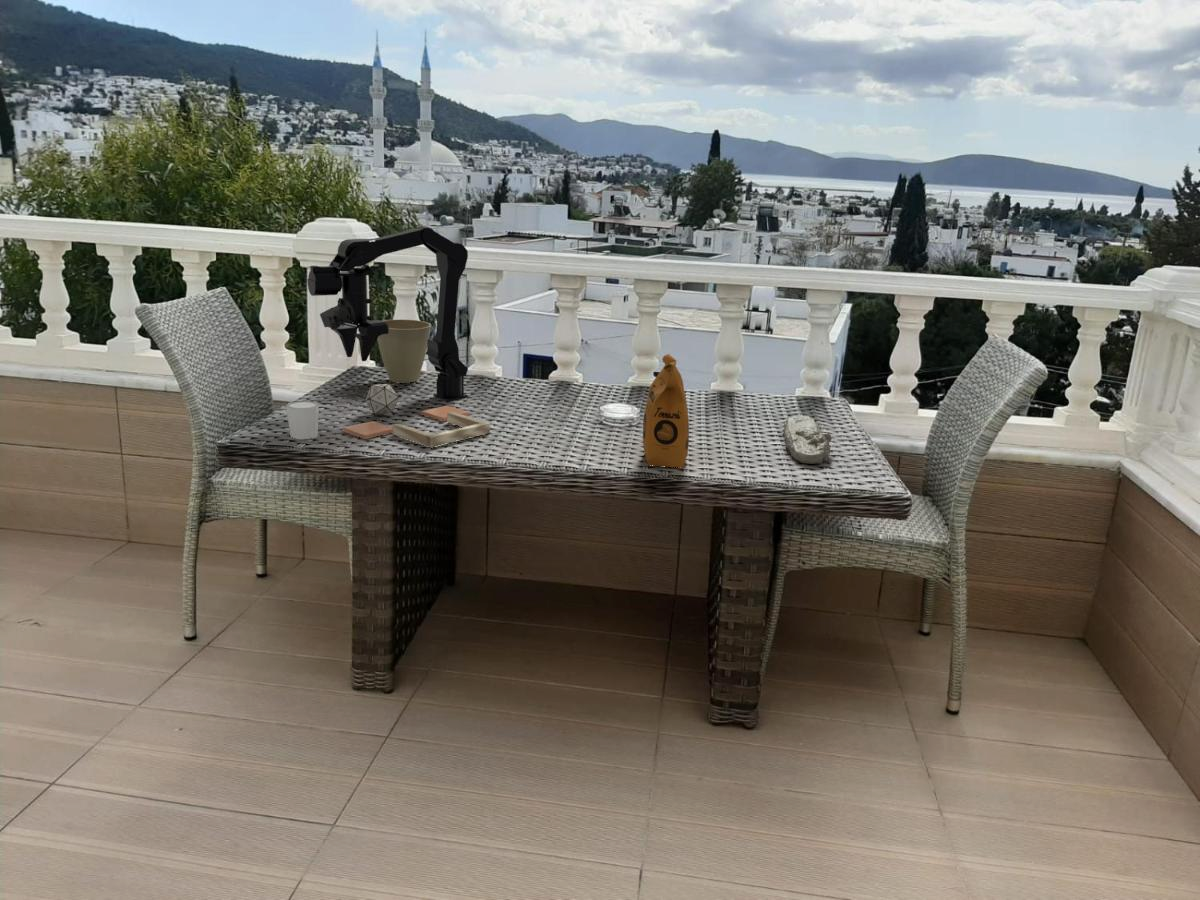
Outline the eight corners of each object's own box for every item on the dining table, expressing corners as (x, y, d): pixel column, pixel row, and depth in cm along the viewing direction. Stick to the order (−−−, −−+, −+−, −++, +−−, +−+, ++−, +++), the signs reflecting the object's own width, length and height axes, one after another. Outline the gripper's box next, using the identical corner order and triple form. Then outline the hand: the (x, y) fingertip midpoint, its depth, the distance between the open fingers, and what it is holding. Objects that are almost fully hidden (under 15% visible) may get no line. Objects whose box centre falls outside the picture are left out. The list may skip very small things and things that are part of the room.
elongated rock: (818, 431, 225) (778, 430, 226) (819, 411, 224) (779, 410, 225) (836, 467, 191) (788, 466, 192) (837, 443, 190) (789, 442, 191)
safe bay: (452, 422, 212) (452, 411, 211) (489, 433, 204) (490, 423, 203) (393, 435, 199) (393, 424, 199) (431, 448, 191) (431, 437, 191)
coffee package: (639, 467, 186) (645, 363, 179) (641, 450, 198) (648, 351, 191) (687, 471, 185) (695, 366, 178) (687, 453, 197) (694, 354, 190)
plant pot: (367, 384, 243) (365, 326, 239) (389, 373, 257) (387, 317, 253) (420, 389, 241) (419, 330, 236) (438, 377, 255) (438, 321, 250)
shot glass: (327, 433, 198) (325, 403, 196) (307, 441, 192) (305, 410, 190) (300, 429, 200) (299, 399, 198) (280, 437, 194) (278, 406, 192)
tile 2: (446, 409, 222) (446, 405, 222) (468, 416, 217) (468, 412, 217) (421, 414, 216) (421, 411, 216) (443, 421, 212) (443, 417, 211)
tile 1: (373, 425, 206) (373, 421, 206) (394, 432, 201) (394, 428, 201) (343, 431, 200) (343, 427, 200) (365, 439, 195) (364, 435, 195)
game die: (388, 431, 215) (394, 405, 207) (354, 417, 214) (360, 391, 207) (402, 406, 221) (409, 380, 213) (369, 392, 220) (375, 365, 213)
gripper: (302, 291, 212) (305, 356, 217) (348, 301, 201) (351, 370, 206) (342, 288, 220) (345, 351, 225) (389, 298, 209) (390, 364, 214)
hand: (356, 359), depth 217 cm, fingers open, 6 cm apart
